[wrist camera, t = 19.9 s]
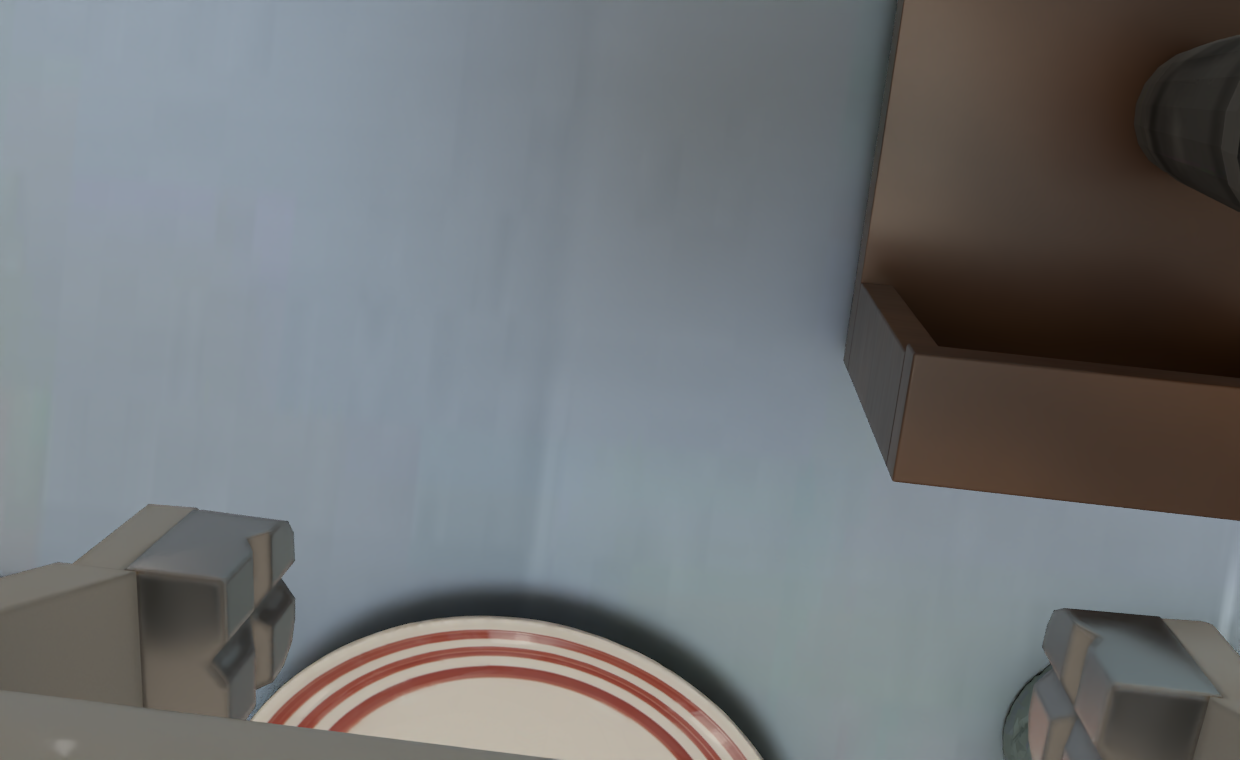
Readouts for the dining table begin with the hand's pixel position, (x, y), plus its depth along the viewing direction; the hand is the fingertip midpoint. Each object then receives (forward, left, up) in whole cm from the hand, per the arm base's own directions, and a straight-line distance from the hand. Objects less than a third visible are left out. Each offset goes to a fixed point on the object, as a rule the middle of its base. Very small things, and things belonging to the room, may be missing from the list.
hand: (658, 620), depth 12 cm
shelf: (-2, +14, -34) cm, 37 cm away
